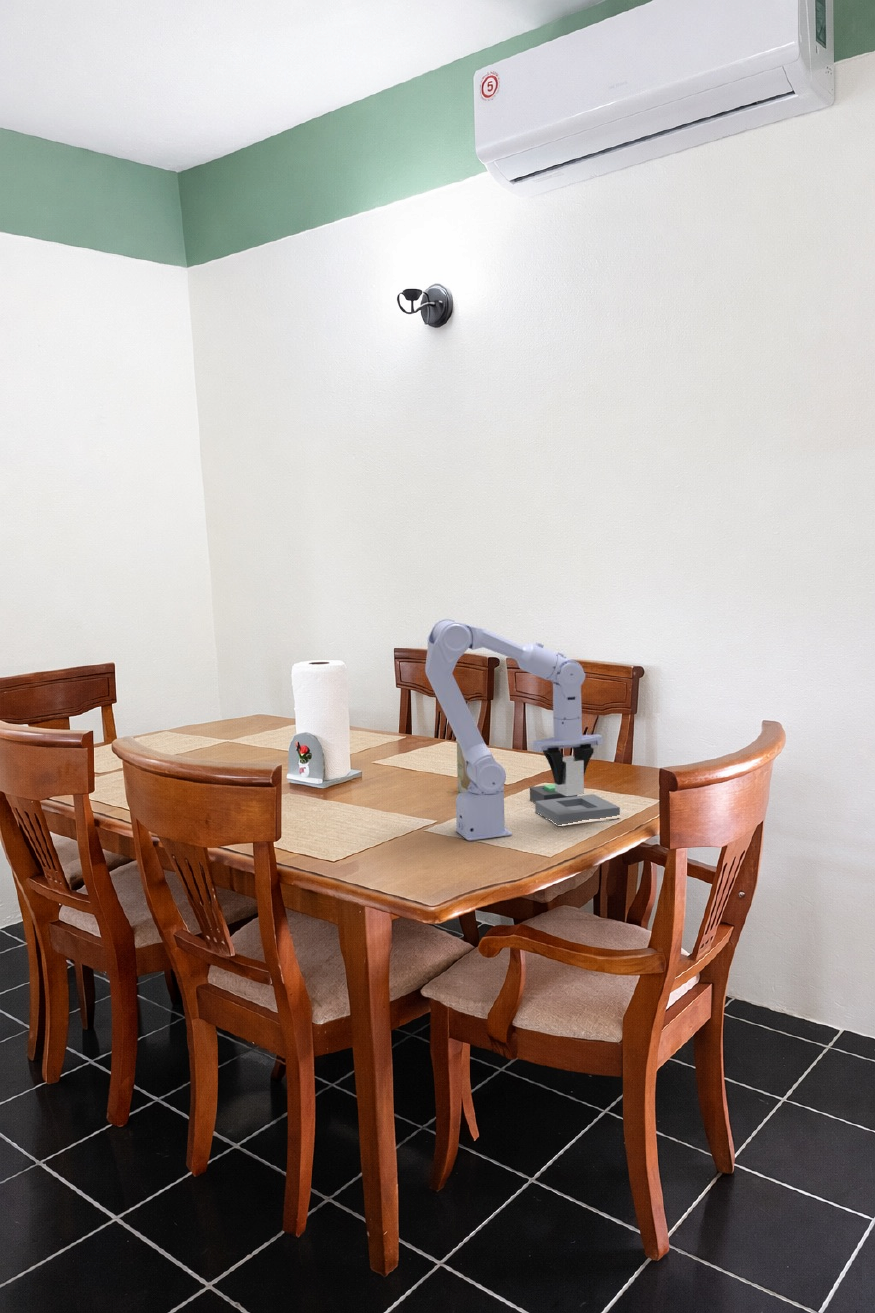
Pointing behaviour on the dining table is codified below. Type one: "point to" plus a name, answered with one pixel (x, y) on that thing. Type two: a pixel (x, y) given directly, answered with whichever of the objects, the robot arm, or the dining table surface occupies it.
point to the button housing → (544, 794)
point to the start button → (549, 788)
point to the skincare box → (461, 771)
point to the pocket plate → (576, 809)
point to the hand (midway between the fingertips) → (568, 782)
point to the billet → (571, 777)
